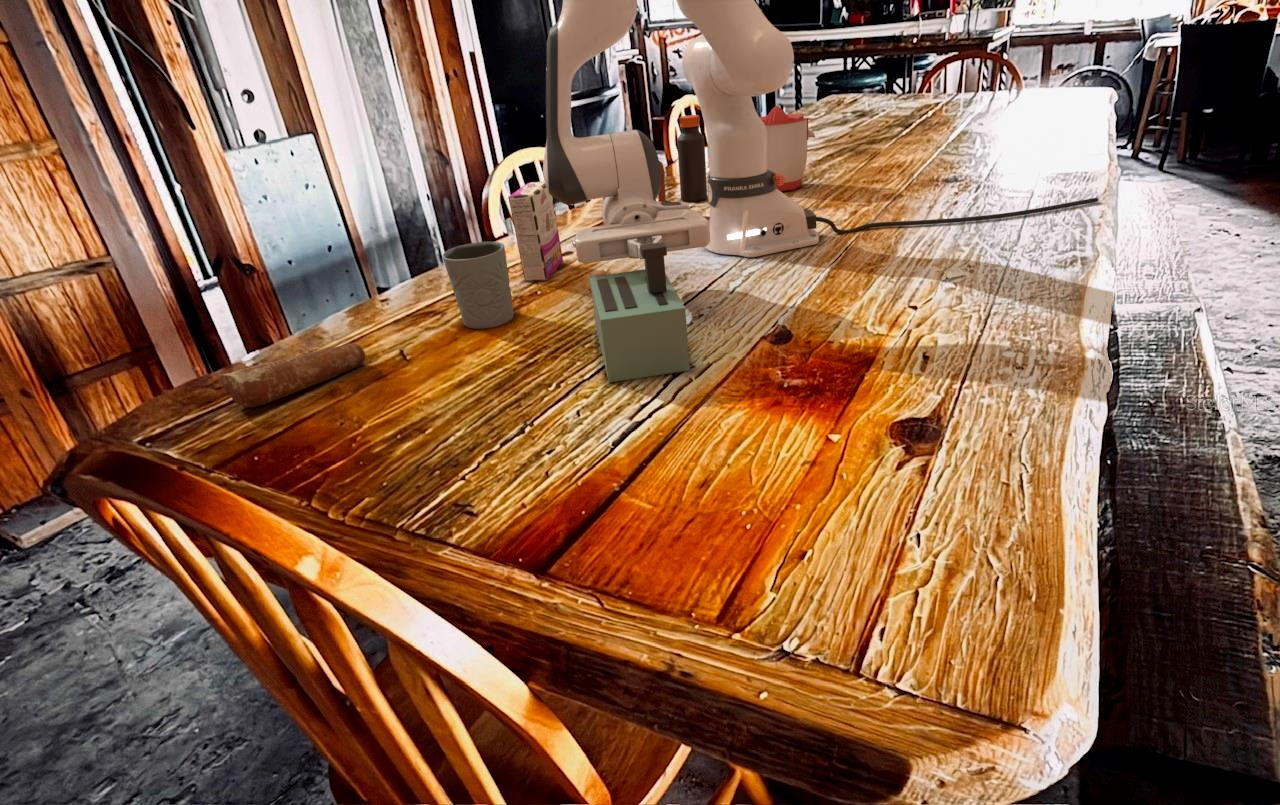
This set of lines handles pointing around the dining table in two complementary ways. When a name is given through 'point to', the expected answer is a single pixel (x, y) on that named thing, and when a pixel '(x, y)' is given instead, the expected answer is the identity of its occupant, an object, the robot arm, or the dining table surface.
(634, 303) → the toaster
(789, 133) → the citrus juicer
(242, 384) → the bread
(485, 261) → the gray embossed cup
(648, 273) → the slide switch
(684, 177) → the bottle
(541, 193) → the candy bar box
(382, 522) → the dining table surface
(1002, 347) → the dining table surface
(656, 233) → the robot arm
